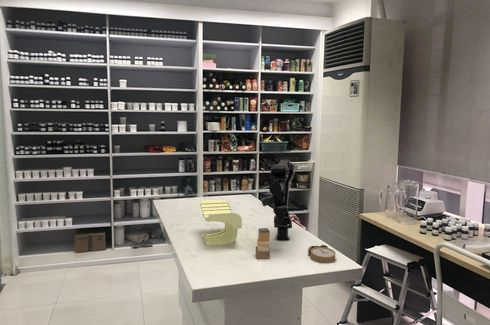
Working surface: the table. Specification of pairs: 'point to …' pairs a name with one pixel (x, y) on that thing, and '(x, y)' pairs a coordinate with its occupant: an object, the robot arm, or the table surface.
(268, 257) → the walnut block
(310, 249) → the alarm clock
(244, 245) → the table surface
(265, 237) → the grey-faced wooden cube
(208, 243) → the slatted curved stool
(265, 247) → the oak block
